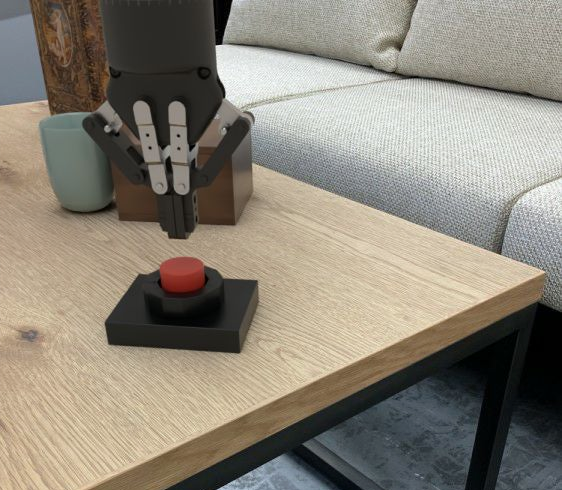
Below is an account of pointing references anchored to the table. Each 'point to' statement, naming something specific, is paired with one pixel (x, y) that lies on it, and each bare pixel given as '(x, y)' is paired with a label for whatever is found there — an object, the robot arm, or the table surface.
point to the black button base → (184, 314)
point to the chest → (211, 200)
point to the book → (71, 54)
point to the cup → (75, 163)
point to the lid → (204, 144)
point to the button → (182, 274)
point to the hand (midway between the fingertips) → (180, 235)
